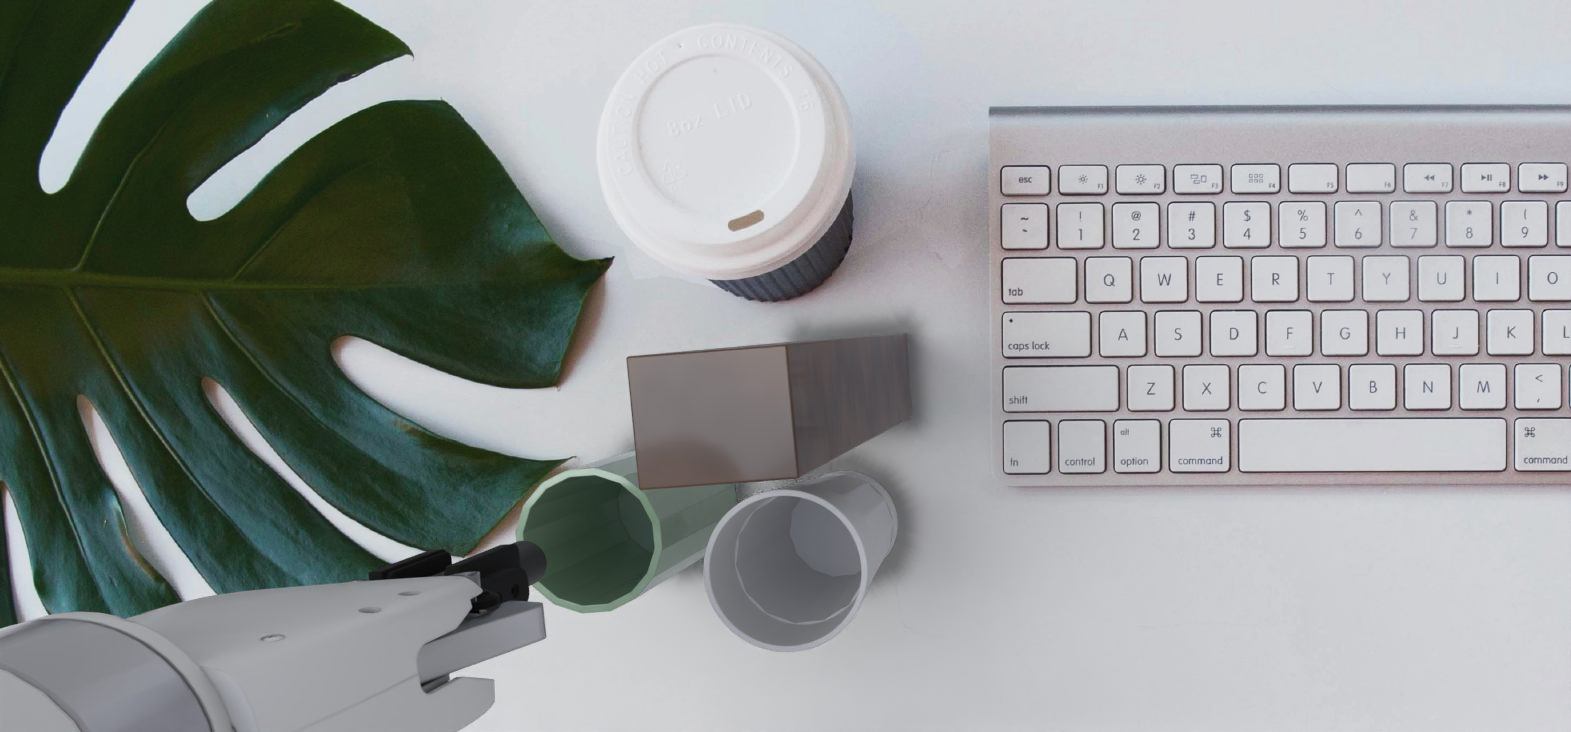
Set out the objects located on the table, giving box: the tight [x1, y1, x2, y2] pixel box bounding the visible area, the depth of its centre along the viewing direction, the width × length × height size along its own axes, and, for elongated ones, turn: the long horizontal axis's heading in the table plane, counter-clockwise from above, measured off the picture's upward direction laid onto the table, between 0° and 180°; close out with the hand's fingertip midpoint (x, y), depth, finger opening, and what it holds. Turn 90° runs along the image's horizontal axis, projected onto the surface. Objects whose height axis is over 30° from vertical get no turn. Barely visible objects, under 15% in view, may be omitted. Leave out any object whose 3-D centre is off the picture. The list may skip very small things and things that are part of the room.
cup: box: [703, 470, 899, 653], centre depth 58 cm, size 8×8×12 cm
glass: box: [515, 449, 738, 614], centre depth 59 cm, size 7×7×11 cm
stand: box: [625, 332, 914, 490], centre depth 52 cm, size 5×6×24 cm
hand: (478, 584), depth 44 cm, fingers closed
